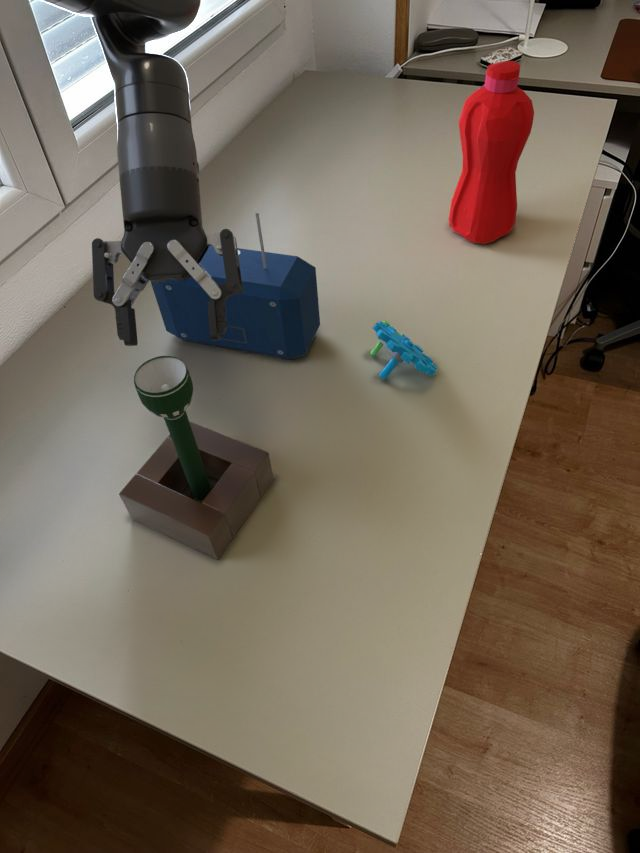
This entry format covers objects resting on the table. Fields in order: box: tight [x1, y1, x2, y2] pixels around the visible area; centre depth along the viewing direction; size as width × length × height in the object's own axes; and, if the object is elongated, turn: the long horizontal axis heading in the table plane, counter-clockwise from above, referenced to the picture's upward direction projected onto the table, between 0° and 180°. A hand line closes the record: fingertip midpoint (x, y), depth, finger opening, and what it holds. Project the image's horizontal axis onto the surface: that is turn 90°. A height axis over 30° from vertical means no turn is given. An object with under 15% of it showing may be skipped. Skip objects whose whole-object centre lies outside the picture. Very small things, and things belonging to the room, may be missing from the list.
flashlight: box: [133, 355, 213, 503], centre depth 67 cm, size 5×5×20 cm
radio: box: [150, 212, 321, 360], centre depth 84 cm, size 21×9×20 cm, turn 72°
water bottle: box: [448, 60, 535, 245], centre depth 96 cm, size 9×11×25 cm
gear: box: [369, 320, 439, 381], centre depth 84 cm, size 11×6×10 cm
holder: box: [118, 420, 275, 561], centre depth 72 cm, size 12×12×5 cm
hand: (173, 342), depth 64 cm, fingers open, 8 cm apart
